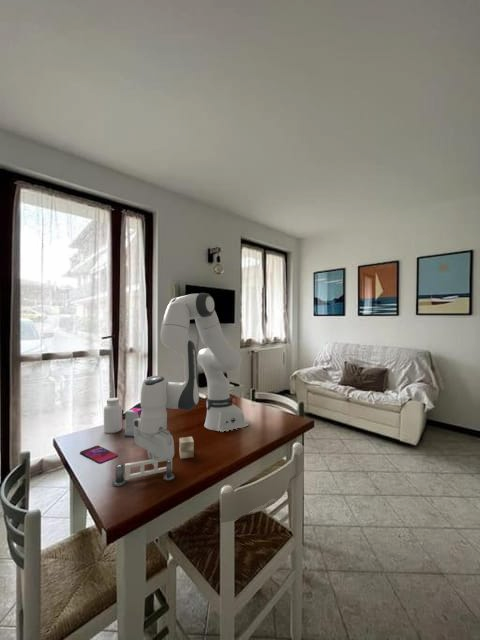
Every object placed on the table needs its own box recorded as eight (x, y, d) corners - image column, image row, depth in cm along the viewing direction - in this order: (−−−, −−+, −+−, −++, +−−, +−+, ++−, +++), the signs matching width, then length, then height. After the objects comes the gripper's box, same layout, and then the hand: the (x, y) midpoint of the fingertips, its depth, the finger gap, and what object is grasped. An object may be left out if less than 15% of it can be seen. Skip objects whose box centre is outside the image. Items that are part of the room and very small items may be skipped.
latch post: (174, 474, 97) (174, 458, 97) (174, 479, 93) (174, 463, 93) (163, 475, 96) (163, 459, 96) (163, 481, 92) (163, 464, 92)
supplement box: (136, 437, 127) (136, 412, 127) (124, 436, 128) (124, 411, 128) (143, 432, 133) (143, 408, 133) (131, 431, 134) (132, 407, 134)
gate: (125, 480, 92) (125, 465, 92) (124, 478, 93) (125, 463, 93) (172, 470, 98) (172, 456, 98) (171, 468, 99) (171, 454, 99)
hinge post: (127, 477, 94) (127, 461, 94) (126, 485, 90) (126, 468, 90) (113, 480, 93) (113, 463, 93) (111, 487, 89) (111, 470, 89)
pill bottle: (107, 427, 139) (107, 397, 139) (124, 427, 139) (124, 396, 139) (100, 433, 131) (101, 401, 131) (118, 433, 131) (118, 401, 131)
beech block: (191, 451, 114) (191, 436, 114) (193, 457, 109) (193, 441, 109) (179, 453, 112) (179, 437, 112) (180, 458, 108) (180, 443, 108)
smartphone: (99, 463, 103) (78, 452, 111) (99, 465, 103) (78, 454, 111) (119, 454, 110) (97, 444, 118) (119, 457, 110) (97, 446, 118)
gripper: (179, 429, 93) (178, 470, 93) (146, 415, 107) (146, 451, 107) (162, 435, 89) (162, 478, 89) (130, 419, 102) (130, 457, 102)
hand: (153, 463), depth 98 cm, fingers closed
